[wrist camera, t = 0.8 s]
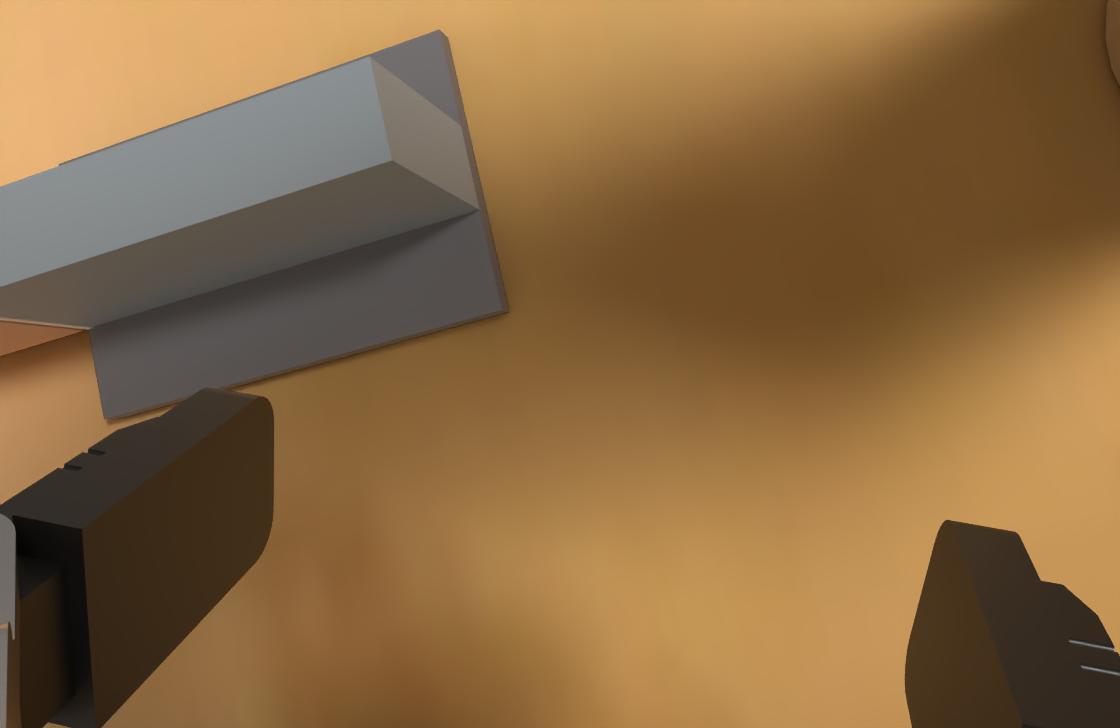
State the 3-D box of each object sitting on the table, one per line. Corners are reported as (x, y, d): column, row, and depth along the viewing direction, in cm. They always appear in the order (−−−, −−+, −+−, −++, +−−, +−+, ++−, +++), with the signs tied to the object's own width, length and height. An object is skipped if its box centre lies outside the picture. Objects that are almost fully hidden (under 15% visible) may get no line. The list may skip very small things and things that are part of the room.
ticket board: (447, 37, 36) (344, -62, 28) (509, 311, 35) (418, 284, 27) (-259, 285, 44) (-485, 259, 37) (-227, 513, 43) (-453, 534, 35)
